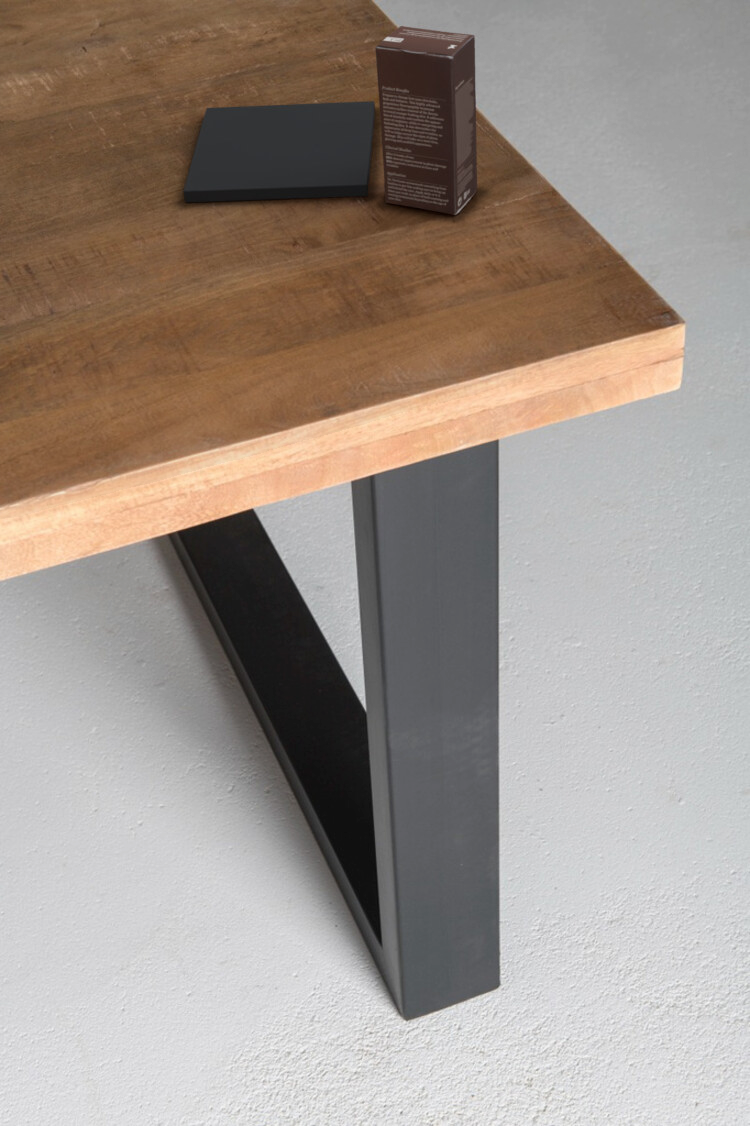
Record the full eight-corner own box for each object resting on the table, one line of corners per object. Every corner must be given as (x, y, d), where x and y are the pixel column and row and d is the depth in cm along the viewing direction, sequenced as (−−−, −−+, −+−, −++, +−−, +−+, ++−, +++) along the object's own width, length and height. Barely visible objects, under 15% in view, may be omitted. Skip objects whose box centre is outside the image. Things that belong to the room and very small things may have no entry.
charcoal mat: (185, 202, 108) (182, 191, 107) (208, 118, 118) (206, 107, 117) (367, 196, 107) (367, 184, 106) (375, 112, 117) (374, 100, 116)
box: (479, 189, 106) (477, 32, 98) (455, 218, 104) (451, 59, 95) (407, 176, 109) (399, 21, 100) (381, 204, 106) (371, 47, 98)
